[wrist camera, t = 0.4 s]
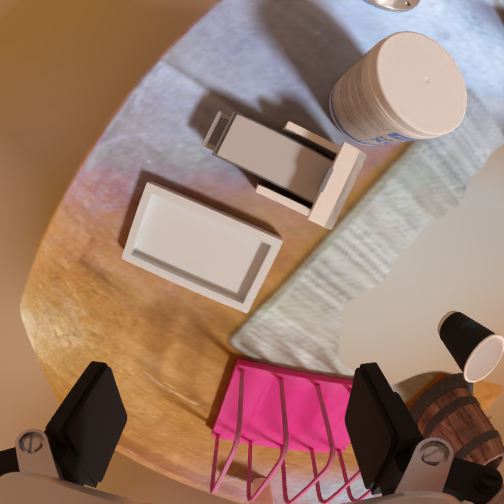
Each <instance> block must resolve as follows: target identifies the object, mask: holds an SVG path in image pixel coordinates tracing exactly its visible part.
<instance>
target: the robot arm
mask: <svg viewBox="0 0 504 504" xmlns="http://www.w3.org/2000/svg"><path fill="white" fill-rule="evenodd" d="M365 1H367V2H368V3H370V4H372V5H374V6H376V7H379V8H381V9H385V10H388V11H393V12H405V11H409V10H411V9H413V8H414V7H415V6H417V4H418V3H419V2H420V0H365ZM126 422H127V414H126V411H125V408H124V405H123V403H122V400H121V397H120V394H119V391H118V388H117V385H116V382H115V379H114V376H113V373H112V370H111V368H110V367H108V366H107V364H106V363H103V362H95V361H92V362H91V363H90V364H89V366H88V367H87V368H86V370H85V371H84V372H83V374H82V375H81V377H80V378H79V379H78V381H77V382H76V384H75V385H74V386H73V388H72V389H71V391H70V392H69V394H68V395H67V396H66V398H65V399H64V401H63V402H62V404H61V405H60V407H59V408H58V410H57V411H56V413H55V414H54V416H53V417H52V418H51V420H50V422H49V423H48V424H47V426H46V430H45V431H44V432H43V431H41V430H39V429H28V430H26V431H23V432H22V433H20V435H19V436H18V437H17V439H16V443H15V444H16V445H15V447H14V448H11V449H7V450H4V451H0V504H156V503H150V502H145V501H139V500H135V499H130V498H126V497H121V496H118V495H114V494H110V493H106V492H102V491H98V490H94V489H91V488H87V487H84V486H83V485H84V484H85V485H89V486H92V487H95V488H96V486H97V484H98V482H101V481H102V480H103V477H104V475H105V472H106V470H107V467H108V465H109V462H110V460H111V458H112V455H113V453H114V450H115V448H116V446H117V443H118V441H119V438H120V436H121V434H122V431H123V429H124V427H125V424H126ZM345 426H346V429H347V432H348V435H349V438H350V441H351V444H352V447H353V450H354V453H355V457H356V460H357V463H358V466H359V469H360V472H361V476H362V479H363V482H364V485H365V488H366V489H370V490H371V494H372V495H375V494H379V493H382V496H381V497H375V498H370V499H365V500H359V501H354V502H348V503H342V504H504V484H503V479H502V476H501V474H500V472H499V471H497V470H496V469H494V468H492V467H489V466H485V465H481V464H477V463H474V462H470V461H467V460H463V459H460V458H457V457H454V456H453V454H454V452H453V449H452V447H451V445H450V444H449V443H448V442H446V441H445V440H443V439H440V438H427V439H424V438H423V436H422V434H421V432H420V430H419V429H418V427H417V425H416V423H415V421H414V420H413V418H412V416H411V414H410V413H409V411H408V409H407V407H406V406H405V404H404V402H403V400H402V399H401V397H400V395H399V394H398V393H397V392H393V390H392V389H391V387H390V385H389V383H388V382H387V380H386V378H385V376H384V375H383V373H382V371H381V370H380V368H379V366H378V365H377V363H375V362H374V363H366V364H361V365H360V368H357V369H356V370H355V374H354V379H353V384H352V388H351V393H350V397H349V401H348V405H347V409H346V413H345Z"/></svg>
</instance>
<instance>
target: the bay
mask: <svg viewBox="0 0 504 504" xmlns="http://www.w3.org/2000/svg"><path fill="white" fill-rule="evenodd" d="M281 133H283V134H285V135H287V136H289V137H292V138H294V139H296V140H298V141H300V142H302V143H304V144H306V145H308V146H310V147H312V148H314V149H316V150H318V151H320V152H322V153H324V154H326V155H328V156H330V157H331V158H333V159H334V161H333V164H332V166H331V167H327V168H326V170H325V172H324V174H323V176H322V179H321V181H320V183H319V185H318V187H317V189H316V190H318V191H319V193H318V195H317V197H316V199H315V201H314V204H313V206H312V208H311V207H309V206H307V205H305V204H303V203H301V202H299V201H297V200H294V199H292V198H290V197H288V196H286V195H284V194H282V193H280V192H277V191H275V190H273V189H271V188H269V187H267V186H264V185H262V184H260V183H257V186H256V188H255V192H257V193H259V194H261V195H263V196H265V197H268V198H270V199H272V200H274V201H276V202H279V203H281V204H283V205H285V206H287V207H289V208H291V209H294V210H296V211H298V212H300V213H302V214H304V215H306V216H307V219H308V220H310V221H312V222H314V223H317V224H319V225H321V226H323V227H325V228H327V229H329V230H332V228H333V226H334V224H335V222H336V220H337V218H338V216H339V214H340V212H341V210H342V207H343V205H344V203H345V201H346V199H347V197H348V195H349V193H350V191H351V189H352V187H353V184H354V182H355V180H356V178H357V176H358V174H359V172H360V169H361V167H362V165H363V163H364V161H365V158H366V156H367V154H365V153H363V152H362V151H360V150H358V149H356V148H355V147H353V146H351V145H349V144H348V143H346V142H342V144H341V146H340V147H339V146H337V145H335V144H333V143H332V142H330V141H328V140H326V139H324V138H322V137H320V136H318V135H316V134H314V133H312V132H310V131H308V130H306V129H304V128H302V127H300V126H298V125H296V124H294V123H292V122H289V121H288V122H287V124H286V125H285V126H284V128H283V130H282V132H281Z"/></svg>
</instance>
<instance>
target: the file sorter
mask: <svg viewBox="0 0 504 504" xmlns="http://www.w3.org/2000/svg"><path fill="white" fill-rule="evenodd" d="M352 384H353V380H349V379H342V378H335V377H329V376H323V375H317V374H311V373H306V372H300V371H295V370H290V369H285V368H280V367H275V366H270V365H266V364H261V363H257V362H253V361H248V360H244V359H240V358H238V359H237V360H236V363H235V366H234V369H233V372H232V374H231V377H230V380H229V383H228V386H227V389H226V392H225V395H224V397H223V400H222V403H221V406H220V409H219V412H218V414H217V417H216V420H215V423H214V425H213V428H212V434H211V436H212V437H216V440H215V449H214V457H213V465H212V474H211V483H210V492H211V493H216V491H217V489H218V487H219V485H220V484H221V482H222V480H223V478H224V476H225V474H226V472H227V470H228V468H229V466H230V464H231V462H232V460H233V458H234V456H235V453H236V451H237V448H238V445H239V442H241V443H246V444H249V448H248V471H247V500H248V501H251V502H253V501H254V500H255V499H256V498H257V497H258V496H259V494H260V493H261V492H262V490H263V489H264V488H265V487H266V485H267V484H268V483H269V481H270V480H271V479H272V477H273V476H274V475H275V473H276V472H277V470H278V469H279V468H280V466H281V469H282V486H283V498H284V501H285V502H286V503H287V504H293V503H294V502H295V501H297V500H298V499H299V498H300V497H301V496H302V495H304V494H305V493H306V492H307V491H308V490H309V489H310V488H311V487H312V486H313V485H316V491H317V497H318V500H319V501H320V502H321V503H323V504H327V503H329V502H330V501H332V500H333V499H334V498H335V497H336V496H338V495H339V494H340V493H341V492H342V491H343V490H344V489H347V493H348V496H349V499H350V500H351V501H352V502H354V501H359V500H363V499H364V498H365V497H366V496H368V495H369V494H370V493H371V490H368V491H367V492H366V493H365V494H363V495H362V496H361V497H360V498H358V499H354V498H353V496H352V494H351V490H350V486H349V485H350V484H351V483H352V482H353V481H354V480H355V479H356V478H357V477H358V476H359V475H360V474H361V472H360V469H359V470H358V471H357V473H355V475H353V477H351V478H350V479H349V481H348V478H347V474H346V469H345V465H344V461H343V457H342V453H341V452H343V450H344V449H345V448H346V447H347V445H348V444H349V443H350V442H351V441H350V438H349V435H348V432H347V429H346V426H345V413H346V409H347V405H348V401H349V397H350V393H351V388H352ZM219 438H221V439H225V440H230V441H234V443H233V446H232V449H231V452H230V454H229V456H228V458H227V460H226V463H225V465H224V467H223V469H222V471H221V473H220V475H219V477H218V479H217V481H216V483H215V473H216V464H217V454H218V445H219ZM252 445H259V446H265V447H272V448H280V452H281V455H280V457H279V459H278V461H277V463H276V464H275V466H274V467H273V468H272V470H271V471H270V473H269V474H268V476H267V477H266V479H265V480H264V481H263V483H262V484H261V486H260V487H259V488H258V489H257V491H256V492H255V494H254V495H253V496H252V497H251V467H252ZM288 449H289V450H299V451H310V454H311V459H312V466H313V472H314V479H313V480H312V481H311V482H310V483H309V484H308V485H307V486H306V487H305V488H304V489H303V490H302V491H301V492H300V493H299V494H297V495H296V496H295V497H294V498H293V499H292V500H290V501H289V499H288V496H287V486H286V471H285V457H286V453H287V450H288ZM314 452H327V453H330V455H329V460H328V462H327V464H326V466H325V468H324V469H323V470H322V471H321V472H320V473H319V474H318V473H317V468H316V462H315V456H314ZM335 453H338V456H339V460H340V464H341V468H342V473H343V477H344V481H345V484H344V485H343V486H342V487H341V488H340V489H339V490H338V491H337V492H335V493H334V494H333V495H332V496H331V497H329V498H328V499H327V500H323V499H322V496H321V492H320V485H319V480H320V479H321V478H322V477H323V476H324V475H325V474H326V473H327V471H328V470H329V469H330V467H331V466H332V463H333V460H334V456H335ZM214 483H215V485H214Z"/></svg>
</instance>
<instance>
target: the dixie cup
mask: <svg viewBox="0 0 504 504" xmlns="http://www.w3.org/2000/svg"><path fill="white" fill-rule="evenodd" d="M438 333H439V335H440V338H441V340H442V341H443V343H444V344H445V346H446V347H447V349H448V350H449V351H450V353H451V355H452V356H453V358H454V359H455V361H456V362H457V364H458V366H459V367H460V369H461V370H462V372H463V373H464V378H465V380H466V381H468V382H477V381H479V380H481V379H483V378H484V377H486V376H487V375H488V374H489V373H490V372H491V371H492V370H493V369H494V367H495V366H496V365H497V364H498V362H499V360H500V358H501V356H502V354H503V351H504V338H503V336H502V335H500V334H495V333H494V332H492V331H490V330H489V329H487V328H486V327H484V326H482V325H481V324H479V323H477V322H475V321H474V320H472V319H471V318H469V317H467V316H466V315H464V314H462V313H461V312H456V311H451V312H449V313H447V314H446V315H445V316H444V317H443V318H442V319H441V321H440V323H439V325H438Z"/></svg>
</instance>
